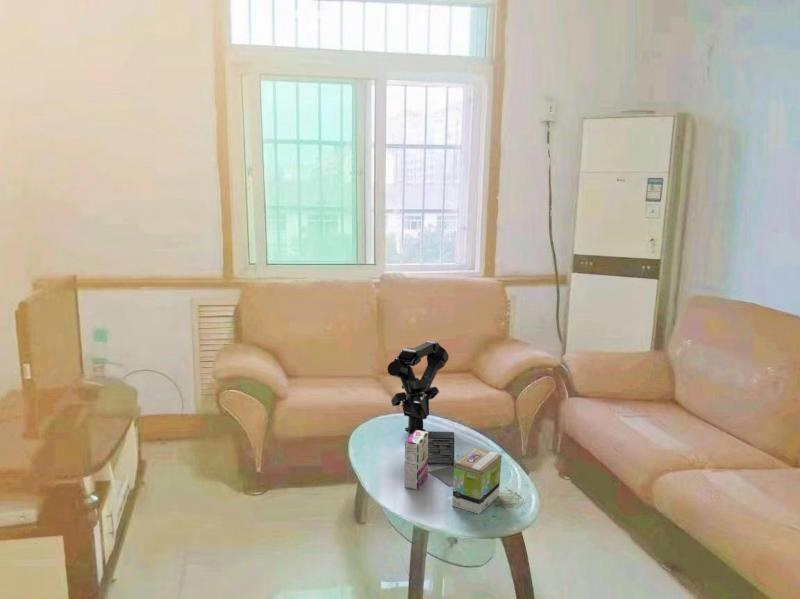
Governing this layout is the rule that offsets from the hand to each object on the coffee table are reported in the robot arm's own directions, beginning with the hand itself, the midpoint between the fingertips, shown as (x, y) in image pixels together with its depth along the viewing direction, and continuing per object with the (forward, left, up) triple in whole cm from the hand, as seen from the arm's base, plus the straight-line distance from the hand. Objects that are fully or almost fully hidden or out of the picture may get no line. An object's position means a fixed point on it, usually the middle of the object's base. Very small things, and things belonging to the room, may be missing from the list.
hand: (423, 416), depth 233 cm
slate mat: (+23, 0, -14) cm, 26 cm away
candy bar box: (+21, -16, -14) cm, 30 cm away
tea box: (+41, -6, -14) cm, 43 cm away
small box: (+12, 0, -14) cm, 18 cm away
